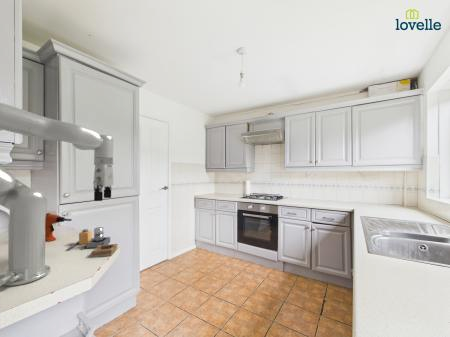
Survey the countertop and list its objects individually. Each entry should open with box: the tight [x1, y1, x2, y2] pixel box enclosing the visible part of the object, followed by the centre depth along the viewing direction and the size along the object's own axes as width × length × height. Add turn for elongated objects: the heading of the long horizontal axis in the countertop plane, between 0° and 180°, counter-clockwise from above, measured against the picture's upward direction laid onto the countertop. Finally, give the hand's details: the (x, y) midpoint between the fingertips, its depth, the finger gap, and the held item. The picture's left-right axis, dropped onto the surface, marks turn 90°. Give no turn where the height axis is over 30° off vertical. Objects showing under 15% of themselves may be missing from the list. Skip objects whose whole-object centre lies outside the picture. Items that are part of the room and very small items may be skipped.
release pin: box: [78, 228, 92, 246], centre depth 107 cm, size 4×4×7 cm
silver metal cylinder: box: [93, 226, 104, 242], centre depth 104 cm, size 4×4×8 cm
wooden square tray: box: [91, 243, 118, 258], centre depth 95 cm, size 8×8×2 cm
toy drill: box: [45, 212, 72, 243], centre depth 109 cm, size 5×19×15 cm, turn 78°
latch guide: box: [67, 237, 94, 252], centre depth 104 cm, size 13×7×1 cm, turn 10°
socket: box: [85, 236, 111, 250], centre depth 104 cm, size 8×8×3 cm
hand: (103, 199), depth 95 cm, fingers open, 9 cm apart
